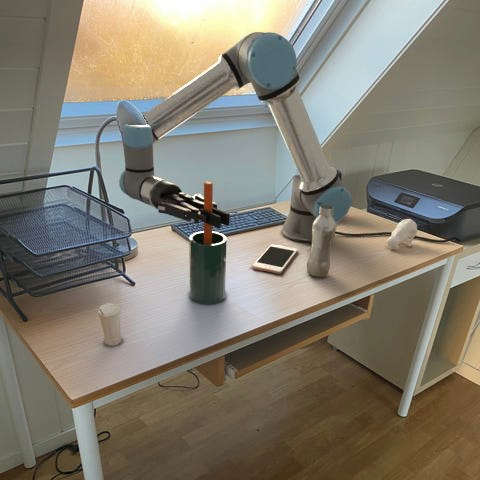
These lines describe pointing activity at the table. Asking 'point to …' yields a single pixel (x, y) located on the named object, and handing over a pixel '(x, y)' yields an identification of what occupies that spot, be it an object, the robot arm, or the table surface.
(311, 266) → the plastic bottle
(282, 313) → the table surface
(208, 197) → the brush
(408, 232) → the white animal figurine
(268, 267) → the cell phone
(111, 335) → the milkshake
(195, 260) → the cup
